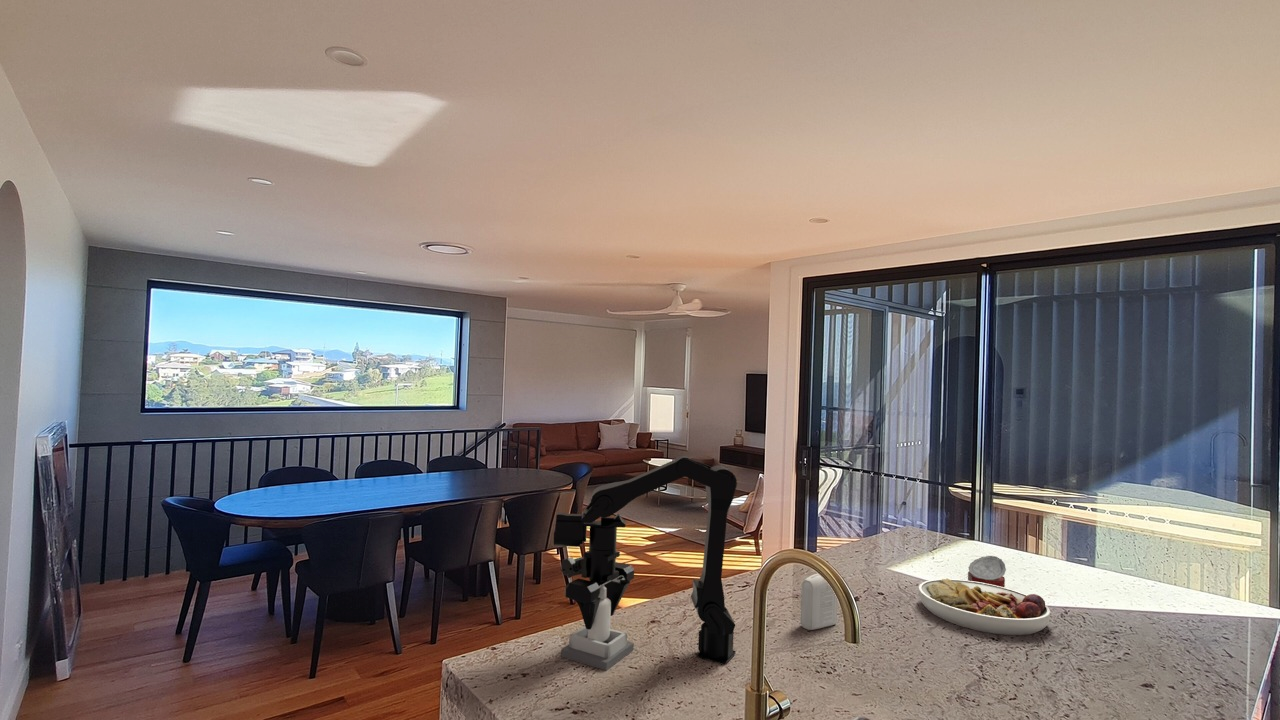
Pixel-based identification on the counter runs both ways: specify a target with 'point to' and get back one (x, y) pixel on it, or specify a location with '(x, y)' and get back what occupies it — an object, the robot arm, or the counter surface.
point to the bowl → (985, 606)
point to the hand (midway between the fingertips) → (599, 622)
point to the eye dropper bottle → (601, 619)
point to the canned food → (987, 571)
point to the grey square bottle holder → (597, 649)
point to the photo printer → (817, 603)
